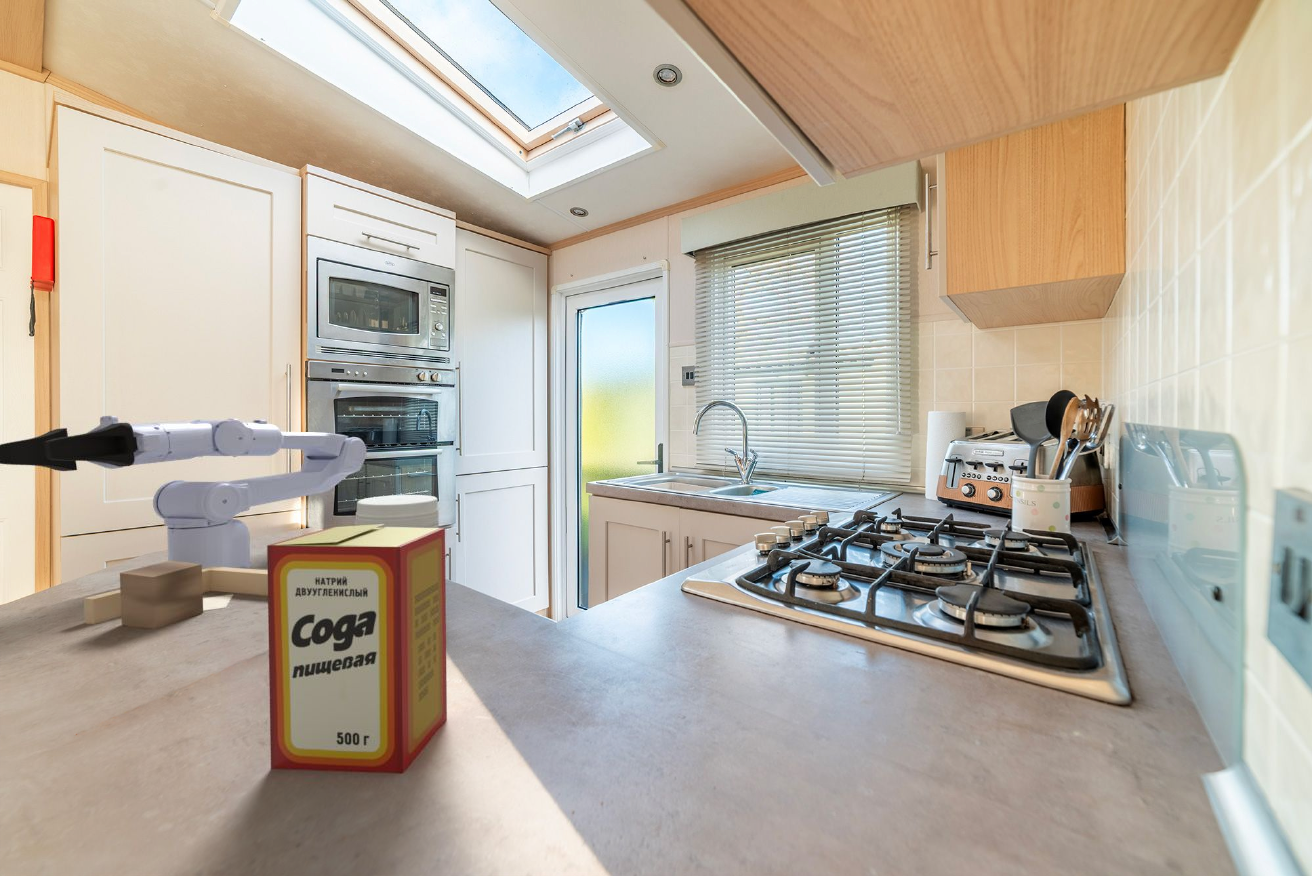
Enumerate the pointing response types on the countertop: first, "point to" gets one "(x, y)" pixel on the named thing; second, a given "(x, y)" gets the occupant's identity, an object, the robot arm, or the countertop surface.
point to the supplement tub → (398, 511)
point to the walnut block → (161, 594)
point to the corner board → (212, 580)
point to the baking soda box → (356, 647)
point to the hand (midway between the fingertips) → (21, 452)
